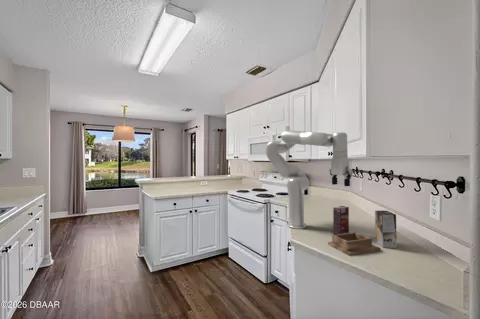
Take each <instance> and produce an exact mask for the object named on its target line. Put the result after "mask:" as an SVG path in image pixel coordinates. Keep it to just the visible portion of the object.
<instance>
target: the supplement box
mask: <svg viewBox="0 0 480 319" xmlns="http://www.w3.org/2000/svg"><path fill="white" fill-rule="evenodd" d="M332 208H333V209H332V211H333V212H332V214H333V216H332V217H333V219H332V220H333V228H332V229H333V230H332V235H338V234H346V233H350V226H349V224H350V221H349V220H350V219H349V218H350V215H349V214H350V212H349V211H350V210H349V209H350V206H346V205H345V206H344V205H341V206H336V207H332Z"/></svg>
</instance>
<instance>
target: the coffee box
mask: <svg viewBox="0 0 480 319" xmlns="http://www.w3.org/2000/svg"><path fill="white" fill-rule="evenodd" d="M374 222H375V223H374V224H375V225H374V227H375V228H374V229H375V242H376V243H377V244H378V245H379V246H381V247H382V248H391V249H397V247H398V246H397V242H398V241H397V214H396V213H393V212H391V211H389V210H374Z"/></svg>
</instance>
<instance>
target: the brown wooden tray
mask: <svg viewBox="0 0 480 319" xmlns="http://www.w3.org/2000/svg"><path fill="white" fill-rule="evenodd" d="M331 236H332V237H331V238H332V240H331V241H327V245H328V246H330V247H332V248H334V249H335V250H338V251H339V252H342V253H343V254H345V255H347V256H349V257H350V256H356V255H362V254H367V253H374V252H379V251H381V247H380V246H377V245H375V244H373V243H372V242H373V239H372V238H371V237H368V236H366V235H363V234H361V233H358V232H356V231H355V232H349V233H346V234H338V235H333V234H332V235H331Z"/></svg>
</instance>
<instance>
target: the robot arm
mask: <svg viewBox="0 0 480 319" xmlns="http://www.w3.org/2000/svg"><path fill="white" fill-rule="evenodd" d="M280 138H281V140H271V141H269V142H268V143H267V144H266V146H265V154H266V157H267V159H268V160H269V162H271V164H272V165H273V167H274V168H275V169H276V171H277V172H278V173H279V175H280V176H281V177H282V179H288V180H287V182H286V187H287V188H286V189H287V193H288V217H287V220H288V222H287V223H286V227H288V228H290V229H297V230H298V229H299V230H300V229H305V228H307V227H308V226H307V223H305V201H304V200H305V199H304V198H305V197H304V193H303V191H306V190H308V189H309V187H310V185H311V184H310V180H309V179H308V176H306V175H305V173H304V171H303V170H302V169H301V167H299V166H298V165H296V164H294V163H288V162H287V161H286V159H285V158H284V157H283V156H282V155H281V154H285V153H287V152H288V151H290V150H291V149H292V148H293V147H294V146H296V145H300V146H303V145H304V146H306V145H309V146H315V147H316V146H317V147H318V146H319V147H329V148H330V147H332V157H331V161H330V169H329V170H328V171H329V175H330V177H331V185H332V186H333V185H338V176H343V177H344V179H343V182H344V183H343V184H344V187H350V186H351V178H352V176H353V173H354V170H353V169H351V167H350V159H349V156H348V154H349V153H348V134H347V133H346V132H343V131H342V132H340V131H339V132H335V133H332V134H331V133H326V132H315V131H314V132H313V131H304V130H290V129H289V130H285V131H283V132H282V133H281V136H280Z"/></svg>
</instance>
